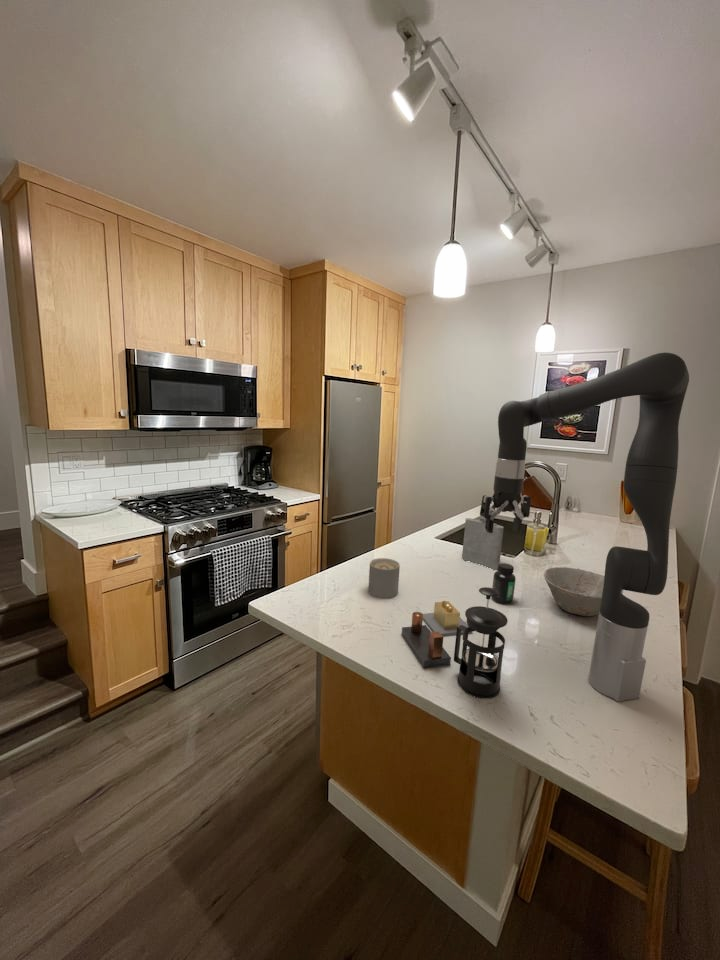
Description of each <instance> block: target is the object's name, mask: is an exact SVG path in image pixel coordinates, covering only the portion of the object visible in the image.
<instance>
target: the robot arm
mask: <svg viewBox="0 0 720 960" xmlns="http://www.w3.org/2000/svg"><path fill="white" fill-rule="evenodd" d="M689 382H690V373H689V370H688V366H687V364H686V362H685V360H684V359H683V358H681V356H679V355H677V354H676V353H673V352H659V353H655V354H652V355H649V356H646V357H644V358H642V359H639V360H637V361H635V362H632V363H630V364H627V365H626V366H624V367H621V368H619V369H616V370H614V371H611V372H608V373H606V374H603V375H600V376H598V377H595V378H592V379H589V380H585V381H583V382H579V383H576V384H573V385H569V386H565V387H563V388H562V387H561V388H558V389H554V390H551V391H547V392H544V393H542V394H540V395H539V396H537V397H534V398H530V399H527V400H526V399H525V400H522V401H520V400H510V401H507V402H505V403H503V405H502V406H501V408H500V410H499V413H498V418H497V419H498V420H497V426H498V438H499V439H498V440H499V445H498V452H497V453H498V454H497V460H496V463H495V465H496V466H495V471H494V481H493V494H492V495H490V496H488V495H486V494H484V495H482V499H481V504H480V510H479V516H480V517H481V516H482V517H484V518H486V525H485V530H486V531H487V532H488V533H493V526H494V523H495V518H496V517H497V516H498V515H500V514H501V513H506V512H510V513H512V514H513V516H514V518H513V523H512V531H513V532H515V533H519V532H520V531H521V529H522V523H523V519H524V518H529V517H530V512H531V499H532V498H531V496H529V495H526V494H522V493H523V488H524V480H525V473H526V455H527V454H526V453H527V446H528V445H527V443H528V442H527V440H526V439H525V437H524V435H525V434H524V432H525V430H524V429H525V427H529V426H533V425H537V424H539V423H542V422H545V421H550V420H551V421H552V420H557V419H562V418H565V417H569V416H572V415H573V416H574V415H577V414H579V413H583V412H585V411H587V410H590V409H592V408H595V407H597V406H599V405H601V404H604V403H607V402H610V401H614V400H617V399H621V398H626V397H634V396H639V413H638V414H639V417H638V424H637V428H636V430H635V434H634V436H633V439H632V440H631V441H632V442H631V444H630V447H629V449H628V453H627V457H626V462H625V469H624V476H623V491H624V493H625V495H626V498H627V499H628V502H629V503H630V504H631V506H632V508H633V510H634V512H635V513H636V514H637V516H638V518H639V519H640V522H641V524H642V526H643V529H644V531H645V536H646V540H647V541H646V542H647V543H646V544H647V550H644V549H637V548H630V547H624V546H616V545H615V546H613V547H610V549H609V550H608V553H607V556H606V559H605V565H604V566H605V567H604V568H605V569H604V575H603V576H604V586H603V592H602V599H601V606H600V612H599V613H598V618H597V624H596V630H595V636H594V641H593V648H592V653H591V660H590V666H589V667H590V668H589V674H588V683H589V684H590V685H591V686H592V688H594V690H596V691H597V692H599V693H601V694H602V695H604V696H606V697H609V698H611V699H613V700H614V701H616V702H617V703H618V702H624V701H629V700H635V699H639V698H640V694H641V689H642V683H643V678H644V673H645V669H646V663H647V660H646V658H644V657H643V652H644V648H645V641H646V637H647V632H648V627H649V622H650V617H651V616H650V612H649V611H648V610H647V608H645V607H644V606H643V605H641V604H639V602H636V601H634V600H632V599H630V598H629V597H627V596H626V595H624V594H623V593H621V591H622V590H623V591H628V592H634V593H639V594H645V595H651V596H659V595H660V594H662V593H663V591H664V589H665V587H666V586H667V585H666V583H667V579H668V570H669V569H668V568H669V566H668V565H669V547H670V546H669V540H670V524H671V515H672V507H673V502H674V496H675V495H674V494H675V491H676V490H675V488H676V484H677V475H678V464H679V463H678V462H679V448H680V447H679V445H680V444H679V443H680V442H679V440H680V439H679V425H680V418H681V413H682V408H683V404H684V400H685V396H686V393H687V390H688V386H689V384H690V383H689ZM521 494H522V495H521ZM491 504H492V505H491ZM519 504H520V506H519Z"/></svg>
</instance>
